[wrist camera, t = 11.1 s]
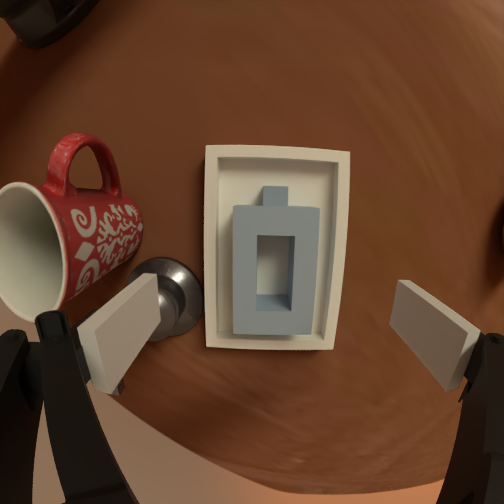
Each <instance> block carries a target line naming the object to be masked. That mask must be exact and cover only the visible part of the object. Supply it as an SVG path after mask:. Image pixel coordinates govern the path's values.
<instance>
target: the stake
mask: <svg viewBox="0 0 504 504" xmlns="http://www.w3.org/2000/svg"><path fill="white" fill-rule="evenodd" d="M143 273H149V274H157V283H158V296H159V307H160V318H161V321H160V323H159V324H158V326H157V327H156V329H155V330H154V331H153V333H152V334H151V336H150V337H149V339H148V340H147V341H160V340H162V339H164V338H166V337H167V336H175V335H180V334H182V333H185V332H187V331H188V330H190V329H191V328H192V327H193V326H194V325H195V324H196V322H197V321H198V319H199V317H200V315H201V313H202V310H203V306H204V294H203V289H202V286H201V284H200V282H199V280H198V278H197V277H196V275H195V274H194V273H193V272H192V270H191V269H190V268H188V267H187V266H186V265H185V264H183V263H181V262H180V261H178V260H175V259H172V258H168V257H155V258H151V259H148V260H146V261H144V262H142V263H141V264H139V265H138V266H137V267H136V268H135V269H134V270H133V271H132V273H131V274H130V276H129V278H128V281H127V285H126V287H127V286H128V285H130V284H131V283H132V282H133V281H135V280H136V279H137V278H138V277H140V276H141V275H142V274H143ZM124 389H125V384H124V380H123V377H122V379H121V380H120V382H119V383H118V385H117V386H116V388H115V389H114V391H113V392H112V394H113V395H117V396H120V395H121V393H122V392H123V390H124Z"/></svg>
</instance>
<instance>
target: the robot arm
mask: <svg viewBox="0 0 504 504" xmlns="http://www.w3.org/2000/svg"><path fill="white" fill-rule="evenodd" d="M97 1H98V0H0V17H1V18H3V19H4V20H5V21H6V22H7V24H8V25H9V26H10V28H11V29H12V30H13V32H14V33H15V34H16V37H17V39H18V41H19V42H21V43H22V44H24V45H26V46H28V47H30V48H41V47H44V46H46V45H48V44H50V43H52V42H54V41H56V40H57V39H59V38H60V37H62V36H63V35H64V34H66V33H67V32H68V31H70V30H71V29H72V28H73V27H74V26H75V25H77V24H78V23H79V22H80V21H81V20H82V19H83V18H84V17H85V16H86V15H87V14H88V12H89V11H90V10H91V9H92V8H93V7H94V5H95V4H96V3H97ZM34 321H35V324H36V328H37V331H38V335H39V339H40V342H28V339H27V336H26V333H25V331H23V330H19V329H15V330H13V329H11V330H10V331H9V330H8V331H6V332H5V333H3V334H2V335H1V336H0V504H32V488H33V486H32V485H33V470H34V457H35V449H36V441H37V433H38V427H39V421H40V415H41V410H42V405H43V400H44V407H45V414H46V421H47V427H48V433H49V438H50V443H51V447H52V452H53V456H54V461H55V464H56V469H57V472H58V476H59V479H60V483H61V486H62V489H63V492H64V496H65V500H66V501H65V503H62V504H139V502H138V500H137V499H136V497H135V495H134V494H133V492H132V490H131V488H130V486H129V484H128V483H127V481H126V479H125V477H124V475H123V473H122V471H121V470H120V467H119V465H118V463H117V461H116V459H115V457H114V455H113V453H112V451H111V448H110V446H109V444H108V442H107V439H106V437H105V435H104V432H103V430H102V428H101V425H100V422H99V420H98V417H97V414H96V412H95V409H94V406H93V403H92V401H91V398H90V395H89V392H88V389H87V386H86V384H87V382H88V381H89V380H90V378H91V381H92V383H93V387H94V390H96V391H100V392H104V393H108V394H112V392H113V391H114V389H115V388H116V386H117V385H118V383H119V382H120V380H121V379H122V377H123V376H124V374H125V373H126V371H127V370H128V368H129V367H130V365H131V364H132V362H133V361H134V359H135V358H136V356H137V355H138V353H139V352H140V350H141V349H142V347H143V346H144V344H145V343H146V342H147V340H148V339H149V337H150V336H151V334H152V333H153V331H154V330H155V329H156V327H157V326H158V324H159V323H160V321H161V318H160V307H159V296H158V283H157V274H149V273H143V274H142V275H141V276H140V277H138V278H137V279H136V280H135V281H133V282H132V283H131V284H130V285H128V286H127V287H126V288H125V289H123V290H122V291H121V292H120V293H118V294H117V295H116V296H115V297H113V298H112V299H111V300H110V301H108V302H107V303H106V304H105V305H104V306H102V307H101V308H98V309H96V310H94V311H91V312H90V313H89V314H87V315H86V316H85V317H84V318H82V319H81V320H80V322H78V323H76V324H75V325H74V326H73V327H72V328H70V327H69V322H68V318H67V314H66V313H65V312H64V311H61V310H50V311H46V312H43V313H41V314H39V315H38V316H36V318H35V320H34ZM389 325H390V326H391V327H392V328H393V329H394V331H395V332H396V333H397V334H398V335H399V336H400V337H401V339H402V340H403V341H404V342H405V343H406V344H407V345H408V347H409V348H410V349H411V350H412V351H413V352H414V354H415V355H416V356H417V357H418V358H419V359H420V361H421V362H422V363H423V364H424V365H425V367H426V368H427V369H428V370H429V371H430V373H431V374H432V375H433V376H434V377H435V379H436V380H437V381H438V382H439V384H440V385H441V386H442V387H443V389H444V390H445V391H449V390H453V389H456V388H459V385H460V383H461V381H462V379H463V376H465V377H466V379H467V380H468V382H467V384H466V386H465V388H464V390H463V392H462V394H461V397H460V399H459V401H458V402H460V401H461V400H462V399H463V403H462V409H461V415H460V421H459V426H458V431H457V435H456V440H455V444H454V448H453V452H452V456H451V460H450V463H449V467H448V470H447V473H446V476H445V480H444V483H443V486H442V489H441V491H440V494H439V497H438V500H437V502H436V504H504V336H502V335H501V334H497V333H488V334H486V335H484V334H482V333H481V332H480V330H479V329H477V328H476V327H475V326H473V325H472V324H471V323H469V322H468V321H467V320H465V319H464V318H463V317H461V316H460V315H459V314H457V313H456V312H454V311H453V310H452V309H450V308H449V307H447V306H446V305H445V304H443V303H442V302H440V301H439V300H438V299H436V298H435V297H433V296H432V295H430V294H429V293H427V292H426V291H425V290H423V289H422V288H420V287H419V286H417V285H416V284H414V283H413V282H411V281H410V280H398V282H397V288H396V294H395V299H394V304H393V309H392V314H391V319H390V323H389Z"/></svg>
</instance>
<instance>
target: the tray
mask: <svg viewBox="0 0 504 504" xmlns="http://www.w3.org/2000/svg"><path fill="white" fill-rule="evenodd" d="M349 181H350V152H346V151H337V150H327V149H315V148H302V147H285V146H261V145H206V156H205V190H204V291H205V325H206V347H220V348H238V349H264V350H326V349H333V346H334V340H335V333H336V327H337V320H338V313H339V306H340V298H341V290H342V281H343V272H344V262H345V251H346V239H347V224H348V207H349ZM263 186H288V206H311V207H316V208H320V221H319V243H318V260H317V275H316V289H315V301H314V312H313V322H312V332H311V335H254V334H233V206H235V205H263ZM288 262H289V236H275V235H258V240H257V294H268V295H287V284H288Z"/></svg>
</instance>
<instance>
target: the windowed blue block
mask: <svg viewBox="0 0 504 504" xmlns="http://www.w3.org/2000/svg"><path fill="white" fill-rule="evenodd" d="M319 221H320V208H316V207H311V206H288V186H263V205H235V206H233V334H254V335H311V332H312V322H313V312H314V301H315V289H316V275H317V260H318V243H319ZM258 235H275V236H289V262H288V284H287V295H268V294H257V240H258Z"/></svg>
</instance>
